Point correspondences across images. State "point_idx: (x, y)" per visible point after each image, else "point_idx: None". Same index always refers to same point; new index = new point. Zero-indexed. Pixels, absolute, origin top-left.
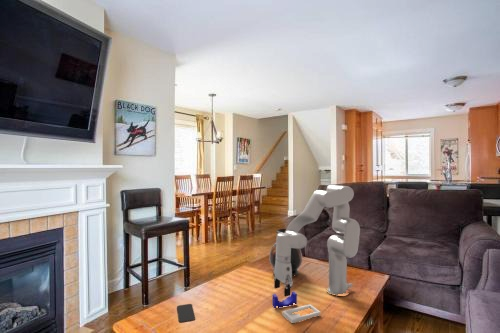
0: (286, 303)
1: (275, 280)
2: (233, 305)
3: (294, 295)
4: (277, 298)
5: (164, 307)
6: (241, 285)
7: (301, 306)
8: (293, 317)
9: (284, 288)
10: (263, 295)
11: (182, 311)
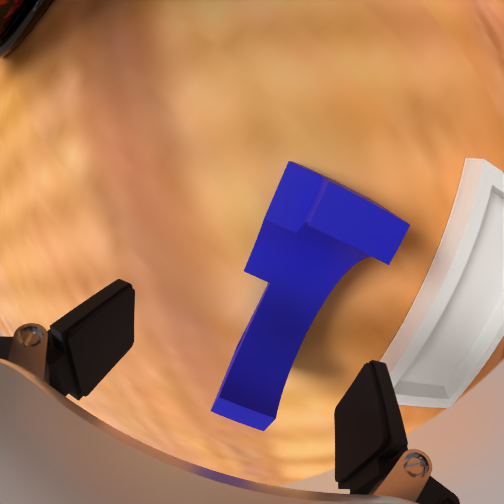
0: (314, 290)
1: (67, 385)
2: (136, 421)
3: (386, 254)
4: (276, 406)
5: None
6: (8, 271)
7: (457, 255)
8: (437, 362)
9: (338, 484)
10: (94, 275)
11: None
